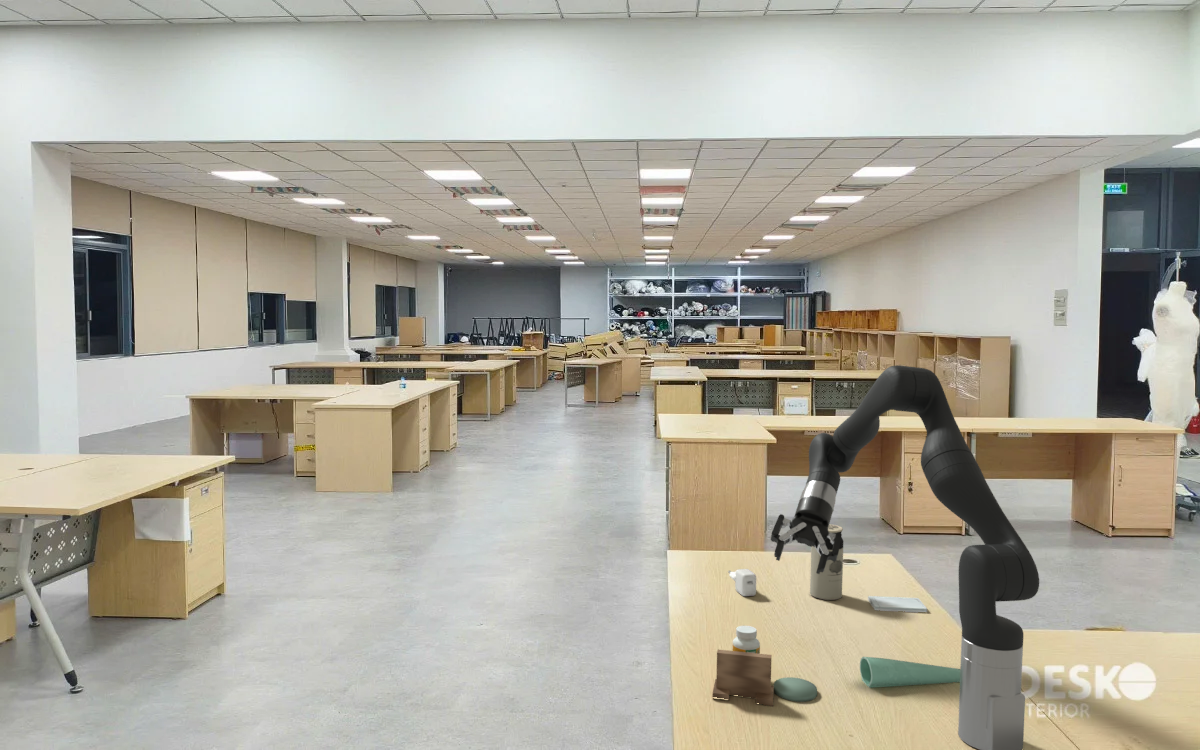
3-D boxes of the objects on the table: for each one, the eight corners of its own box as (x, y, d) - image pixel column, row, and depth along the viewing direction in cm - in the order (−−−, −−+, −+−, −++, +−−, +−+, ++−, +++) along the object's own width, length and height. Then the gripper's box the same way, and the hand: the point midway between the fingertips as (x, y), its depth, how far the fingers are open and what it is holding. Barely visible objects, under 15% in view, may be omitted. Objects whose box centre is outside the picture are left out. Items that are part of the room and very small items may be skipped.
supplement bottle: (746, 668, 161) (747, 622, 161) (765, 678, 157) (766, 630, 156) (726, 674, 158) (727, 627, 158) (745, 684, 154) (746, 636, 153)
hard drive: (918, 597, 202) (867, 594, 204) (927, 608, 194) (874, 605, 195) (917, 603, 202) (867, 601, 204) (927, 615, 194) (874, 612, 196)
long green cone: (1003, 658, 155) (871, 663, 152) (1002, 686, 155) (871, 691, 152) (987, 647, 160) (859, 652, 157) (986, 674, 160) (858, 679, 157)
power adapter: (724, 584, 214) (725, 562, 214) (741, 583, 216) (742, 561, 215) (741, 597, 204) (741, 575, 203) (758, 596, 205) (759, 574, 204)
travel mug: (804, 591, 209) (806, 523, 208) (833, 589, 210) (835, 522, 209) (818, 601, 201) (819, 531, 200) (847, 600, 203) (849, 530, 201)
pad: (824, 699, 148) (824, 694, 148) (784, 703, 146) (784, 698, 146) (805, 680, 156) (805, 675, 156) (766, 684, 154) (766, 679, 154)
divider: (773, 691, 151) (774, 650, 150) (772, 706, 145) (773, 663, 145) (715, 685, 153) (716, 644, 153) (712, 699, 148) (713, 657, 147)
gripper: (786, 486, 177) (766, 544, 167) (851, 505, 172) (834, 566, 162) (782, 506, 182) (763, 563, 172) (845, 525, 178) (829, 585, 167)
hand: (798, 565), depth 167 cm, fingers open, 8 cm apart
